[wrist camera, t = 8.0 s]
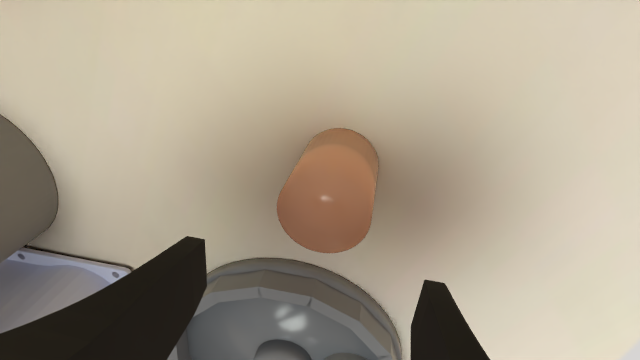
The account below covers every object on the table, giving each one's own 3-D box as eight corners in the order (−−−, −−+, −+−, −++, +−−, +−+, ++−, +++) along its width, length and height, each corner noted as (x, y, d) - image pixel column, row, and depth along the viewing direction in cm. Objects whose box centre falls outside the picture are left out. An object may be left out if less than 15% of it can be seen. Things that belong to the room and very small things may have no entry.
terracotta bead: (304, 194, 22) (279, 248, 18) (302, 126, 20) (274, 167, 16) (376, 200, 21) (369, 257, 17) (380, 130, 20) (373, 174, 15)
